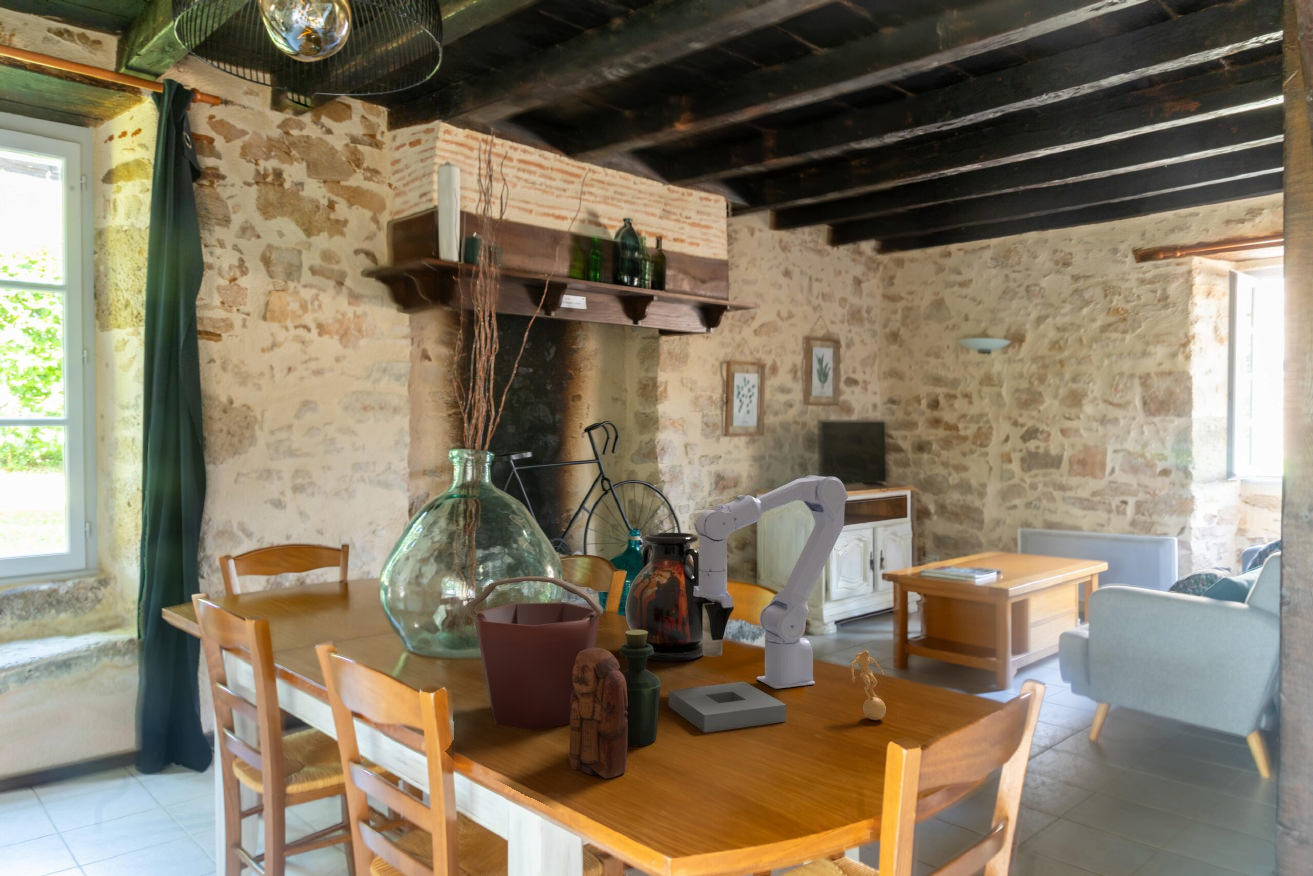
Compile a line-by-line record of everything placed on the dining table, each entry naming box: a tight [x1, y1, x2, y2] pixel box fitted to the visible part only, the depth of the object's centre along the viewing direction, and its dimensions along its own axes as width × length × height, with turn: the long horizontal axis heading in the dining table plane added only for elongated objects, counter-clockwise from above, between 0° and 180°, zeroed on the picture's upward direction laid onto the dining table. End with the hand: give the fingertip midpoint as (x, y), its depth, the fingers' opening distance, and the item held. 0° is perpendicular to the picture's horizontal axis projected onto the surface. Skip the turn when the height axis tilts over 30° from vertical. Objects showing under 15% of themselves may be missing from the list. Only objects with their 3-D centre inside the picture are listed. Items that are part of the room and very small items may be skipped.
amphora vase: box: [624, 532, 704, 662], centre depth 203 cm, size 22×22×28 cm
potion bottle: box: [618, 630, 661, 747], centre depth 144 cm, size 8×8×18 cm
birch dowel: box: [702, 603, 723, 658], centre depth 174 cm, size 4×4×10 cm
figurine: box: [849, 650, 887, 721], centre depth 156 cm, size 8×6×12 cm
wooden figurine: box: [568, 647, 628, 779], centre depth 132 cm, size 12×6×18 cm, turn 45°
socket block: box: [668, 681, 787, 734], centre depth 158 cm, size 16×16×3 cm
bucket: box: [467, 575, 604, 731], centre depth 159 cm, size 24×22×25 cm
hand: (712, 637), depth 174 cm, fingers closed on birch dowel, 4 cm apart
